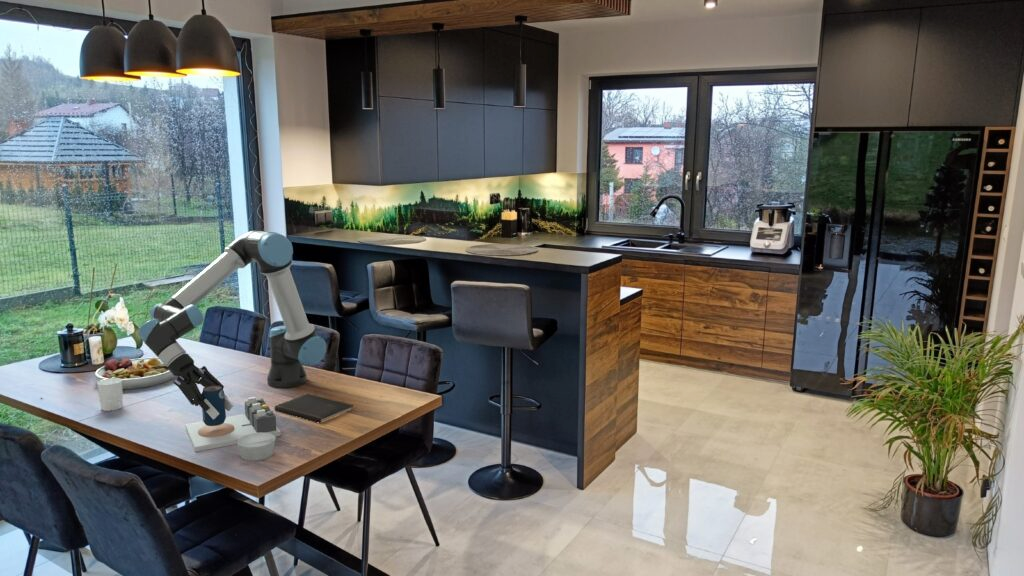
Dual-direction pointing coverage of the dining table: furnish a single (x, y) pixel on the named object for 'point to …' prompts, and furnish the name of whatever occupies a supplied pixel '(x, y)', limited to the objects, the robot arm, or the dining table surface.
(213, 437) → the breaker board
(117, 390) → the white cup
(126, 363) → the bowl
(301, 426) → the dining table surface
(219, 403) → the soda can
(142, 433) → the dining table surface
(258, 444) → the ramekin
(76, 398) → the dining table surface
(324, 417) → the hardcover book
